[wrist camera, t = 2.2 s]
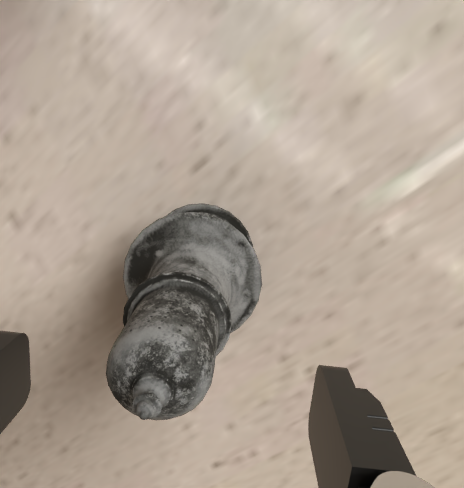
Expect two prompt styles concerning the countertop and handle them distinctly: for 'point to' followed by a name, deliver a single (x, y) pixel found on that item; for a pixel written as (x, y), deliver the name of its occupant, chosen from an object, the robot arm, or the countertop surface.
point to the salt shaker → (181, 308)
